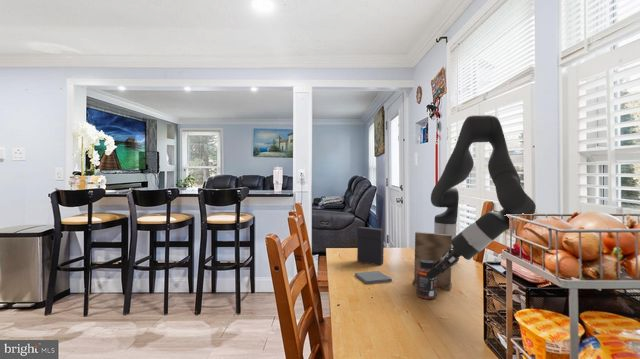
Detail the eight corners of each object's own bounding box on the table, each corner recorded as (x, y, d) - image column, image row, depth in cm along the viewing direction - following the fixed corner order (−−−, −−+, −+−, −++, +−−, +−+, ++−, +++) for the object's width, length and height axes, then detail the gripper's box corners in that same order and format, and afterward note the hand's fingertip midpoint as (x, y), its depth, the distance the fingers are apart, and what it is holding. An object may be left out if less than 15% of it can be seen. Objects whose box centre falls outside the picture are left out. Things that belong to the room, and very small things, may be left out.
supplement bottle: (437, 300, 104) (438, 264, 104) (417, 299, 105) (418, 262, 105) (434, 294, 110) (435, 259, 109) (415, 292, 111) (416, 258, 111)
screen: (412, 284, 119) (413, 233, 118) (415, 280, 123) (416, 231, 123) (450, 290, 113) (451, 236, 113) (451, 286, 118) (453, 234, 117)
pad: (378, 273, 131) (378, 270, 131) (391, 281, 122) (391, 278, 122) (354, 275, 128) (354, 273, 128) (366, 284, 118) (366, 281, 118)
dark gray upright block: (384, 263, 145) (384, 228, 145) (380, 265, 142) (380, 230, 141) (360, 259, 151) (361, 226, 151) (356, 261, 148) (357, 227, 147)
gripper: (463, 227, 109) (425, 258, 114) (460, 234, 96) (418, 269, 101) (481, 246, 107) (442, 276, 112) (480, 255, 94) (436, 289, 99)
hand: (430, 273), depth 107 cm, fingers open, 8 cm apart
